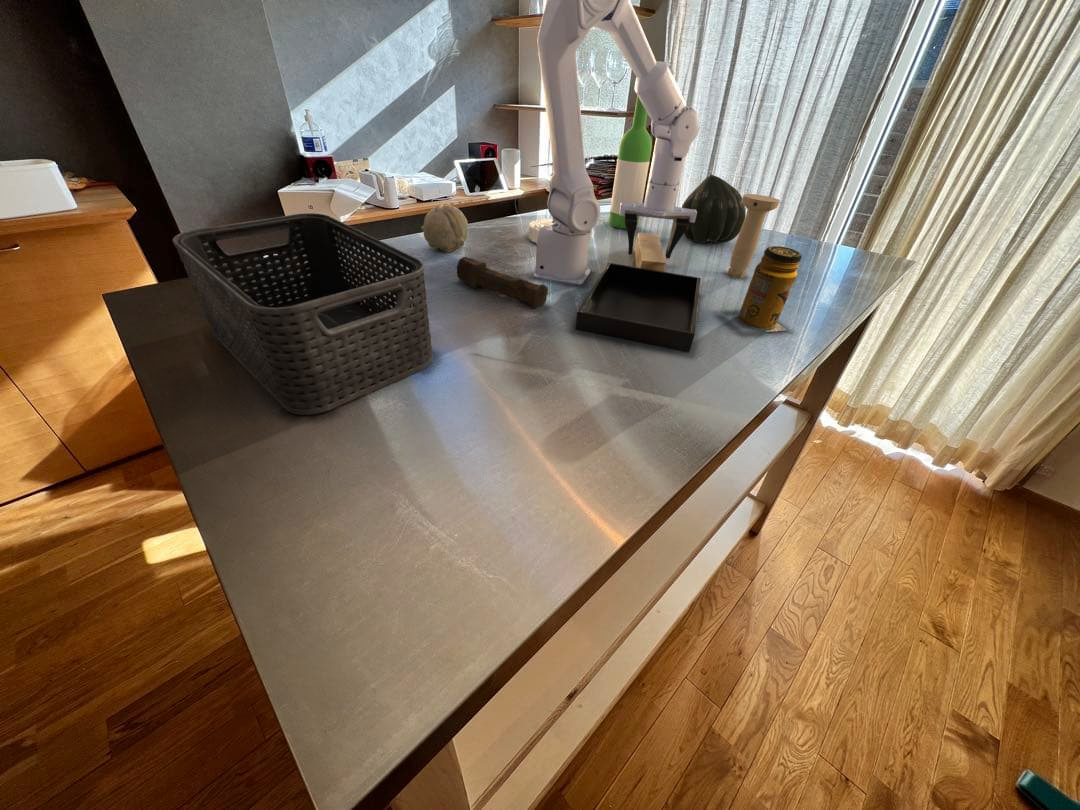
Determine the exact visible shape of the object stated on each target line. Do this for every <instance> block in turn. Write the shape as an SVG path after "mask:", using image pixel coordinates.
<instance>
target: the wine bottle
mask: <svg viewBox="0 0 1080 810" xmlns="http://www.w3.org/2000/svg"><path fill="white" fill-rule="evenodd" d="M636 95H637V94H636ZM647 119H648V113H647V111H646V109H645V108H644V106H643V104H642V102H641V101H640V99H639V97H638V95H637V96H636V100H635V107H634V113H633V118H632V126H631V128H630V129H628V130H627V131H626V132H625V133H624V134H623V136H622V138H621V139H620V142H619V146H618V154H617V159H616V166H615V174H614V180H613V187H612V194H611V201H610V209H609V217H608V223H609V225H610V226H612V227H613V228H616V229H621V230H627V229H626V225H625V220H624V216H620V215H619V211H620V205H621V203H643V201H644V194H645V188H646V182H647V177H648V171H649V167H650V161H651V160H650V159H651V154H652V148H653V142H652V140H653V139H652V137H651V134H650V133H649V132H648V130H647V128H646V126H647ZM639 222H640V216H637V225H638V224H639Z"/></svg>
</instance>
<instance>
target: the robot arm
mask: <svg viewBox="0 0 1080 810" xmlns="http://www.w3.org/2000/svg"><path fill="white" fill-rule="evenodd" d="M539 25H540V26H539V30H538V34H537V51H538V60H539V68H540V75H541V84H542V91H543V99H544V105H545V106H544V107H545V114H546V121H547V122H546V123H547V128H548V130H547V131H548V137H549V144H550V151H551V160H552V169H553V174H552V175H551V177H550V178H549V181H548V183H549V194H548V198H547V202H546V203H547V204H546V205H547V206H546V207H547V211H548V213H549V214H550V216H551V218H553V219H552V225H543V226H542V227H541V229H540V231H539V234H538V239H537V244H536V249H535V250H536V253H535V269H534V270H535V273H534V275H533V277H534V278H536V279H545V280H551V281H556V282H561V283H568V284H573V285H579V286H582V285H583V284H584V282H585V281H586V279H587V278H588V277H589V275H590V274H591V272H592V270H591V269H589V268H587V265H588V255H589V248H590V247H589V246H590V238H591V233H592V229H594V227H596V225H597V223H598V222H599V219H600V216H601V206H600V203H599V201H598V199H597V198H596V196H595V195H596V194H595V191H594V184H593V182H592V180H591V178H590V176H589V174H588V171H587V169H586V159H585V146H584V145H585V144H584V135H583V123H582V112H581V100H580V98H581V97H580V87H579V76H578V65H577V50H578V48H579V47H580V45H581V44H582V43H583V41H584V39H585V38H586V36H587V35H588V33H589V32H590V30H591V29H592V28H593V27H594V28H596V29H599V30H601V31H605V32H607V33H608V34H609V35H610V37H611V39H612V40H613V42H614V43H615V45H616V47H617V48H618V50H619V52H620V53H621V54H622V56H623V57H624V59H625V61H626V62H627V64H628V65H629V67H630V69H631V71H632V72H633V74H634V75H635V77H636V78H635V83H634V91H635V94H636V95H638V97H639V99H640V101H641V102H642V104H643V106H644V108H645V109H646V111H647V113H648V114H647V116H648V117H649V119H650V120H651V124H650V132H651V135H652V136H654V138H655V143H654V148H653V154H652V159H651V165H650V170H649V175H648V180H647V185H646V191H645V196H644V200H643V201H644V202H642V203H621V205H620V211H619V215H620V216H624V220H625V225H626V229H625V230H626V233H627V240H628V241H627V242H628V248H627V249H628V250H627V254H628V256H632V255H633V251H634V242H635V235H636V230H637V226H638V224H637V216H639V218H640V217H641V218H652V219H661V220H672V223H671V224H672V225H671V229H670V230H671V231H670V234H669V235H670V236H669V239H668V243H667V247H666V250H665V258H666V259H669V260H670V259H671V256H672V254H673V252H674V250H675V248H676V246H677V245H678V243H679V241H680V240H681V238H682V237H683V235H684V233H685V232H686V231H687V229H688V227H689V222H693V223H694V222H695V219H696V215H697V211H696V210H693V209H686V208H682V207H680V206H675V205H676V200H677V196H678V190H679V187H680V183H681V179H682V173H683V169H684V165H685V161H686V157H687V155H688V154H689V152H690V148H691V145H692V143H693V142H694V141H695V139H696V138H697V136H698V134H699V132H700V129H701V127H700V126H699V116H698V113H697V111H696V110H695V109H694V108H693V107H691V106H688V105H687V102H686V101H687V97H686V95H685V93H682V92H681V89H680V88H679V85H678V83H677V81H676V79H675V77H674V76H673V75H675V73H676V71H675V69H674V67H673V65H668V63H667V62H666V61H661V60H660V61H657V60H656V57H655V55H654V52H653V50H652V48H651V46H650V44H649V41H648V39H647V36H646V34H645V31H644V29H643V27H642V25H641V22H640V19H639V18H638V15H637V13H636V11H635V8H634V6H633V3H632V0H546V2H545V6H544V10H543V14H542V17H541V22H540V24H539Z"/></svg>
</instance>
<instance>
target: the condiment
mask: <svg viewBox="0 0 1080 810" xmlns="http://www.w3.org/2000/svg"><path fill="white" fill-rule="evenodd" d="M802 256H803V255H802V253H801V252H800V251H798V250H796V249H793V248H791V247H787V246H779V245H778V246H777V245H771V246H768V247H766V248H765V250H764V251H763V255H762V256H761V259H760V261H759V263H758V264H757V265H756V266H755V268H754V272H753V274H752V277H751V280H750V282H749V286H748V288H747V291H746V293H745V296H744V298H743V302H742V303H741V307H740V310H739V315H738V319H739V321H740V322H742V323H743V324H745V325H747V326H749V327H752V328H756V329H760V330H761V329H762V330H765V333H771V332H784V331H785V332H786V331H787V330H788V329H786V328H785V327H784V326H782V325H781V324H779V323H778V321H779V318H780V316H781V314H782V312H783V310H784V307H785V305H786V303H787V300H788V298H789V295H790V293H791V290H792V289H793V286H794V284H795V282H796V279H797V276H798V271H797V270H798V269H799V265H800V262H801V261H802ZM721 313H723V314H725V313H726V314H727V315H729V312H725V311H721ZM735 313H737V311H735Z"/></svg>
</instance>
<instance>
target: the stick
mask: <svg viewBox="0 0 1080 810" xmlns="http://www.w3.org/2000/svg"><path fill="white" fill-rule="evenodd" d="M636 236H637V237H636V243H635V247H634V259H635V261H634V262H635V267H638V268H644V269H650V270H656V271H662V272H665V268H666V260H665V255H664V251H663V248H662V244H661V240H660V236H659V234H654V233H643V232H638V233H637V235H636Z"/></svg>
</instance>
